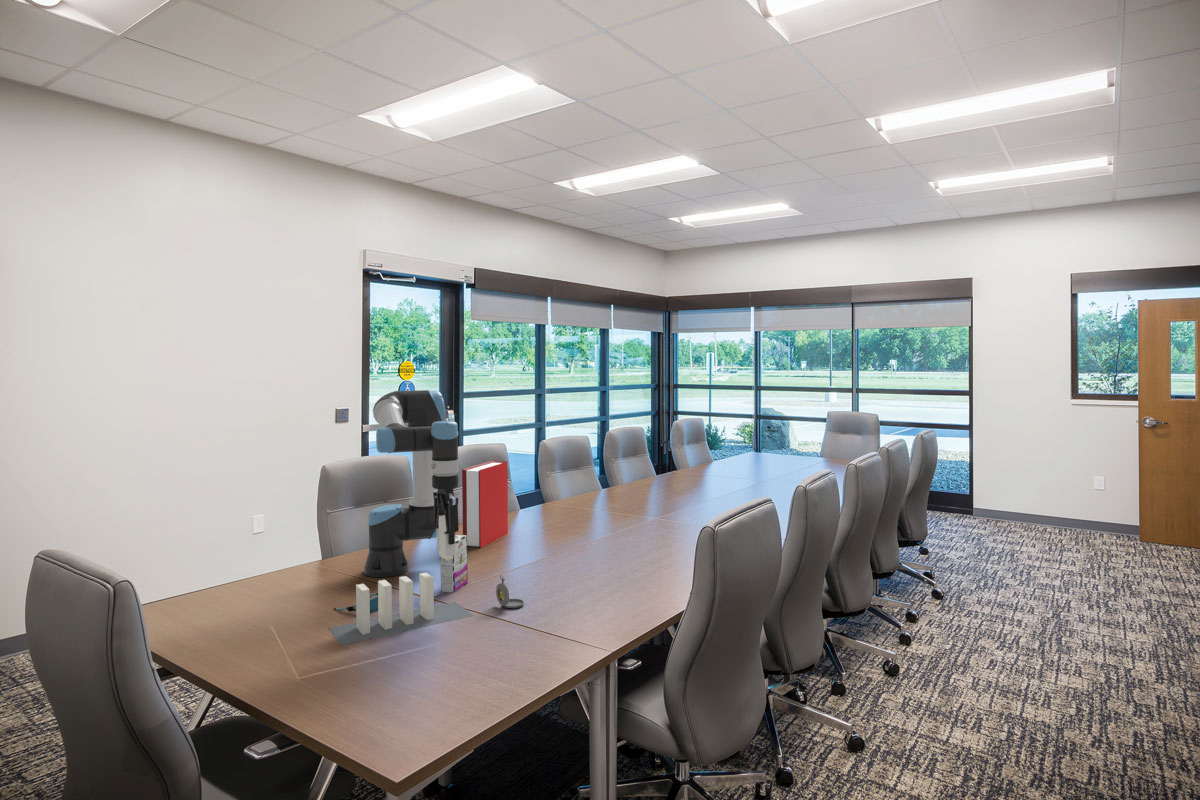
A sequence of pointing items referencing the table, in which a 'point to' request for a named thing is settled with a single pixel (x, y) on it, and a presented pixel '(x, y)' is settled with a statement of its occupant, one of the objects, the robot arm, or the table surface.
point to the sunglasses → (372, 604)
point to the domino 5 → (442, 538)
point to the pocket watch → (506, 596)
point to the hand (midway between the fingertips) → (446, 552)
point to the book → (485, 502)
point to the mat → (399, 624)
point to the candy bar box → (455, 567)
